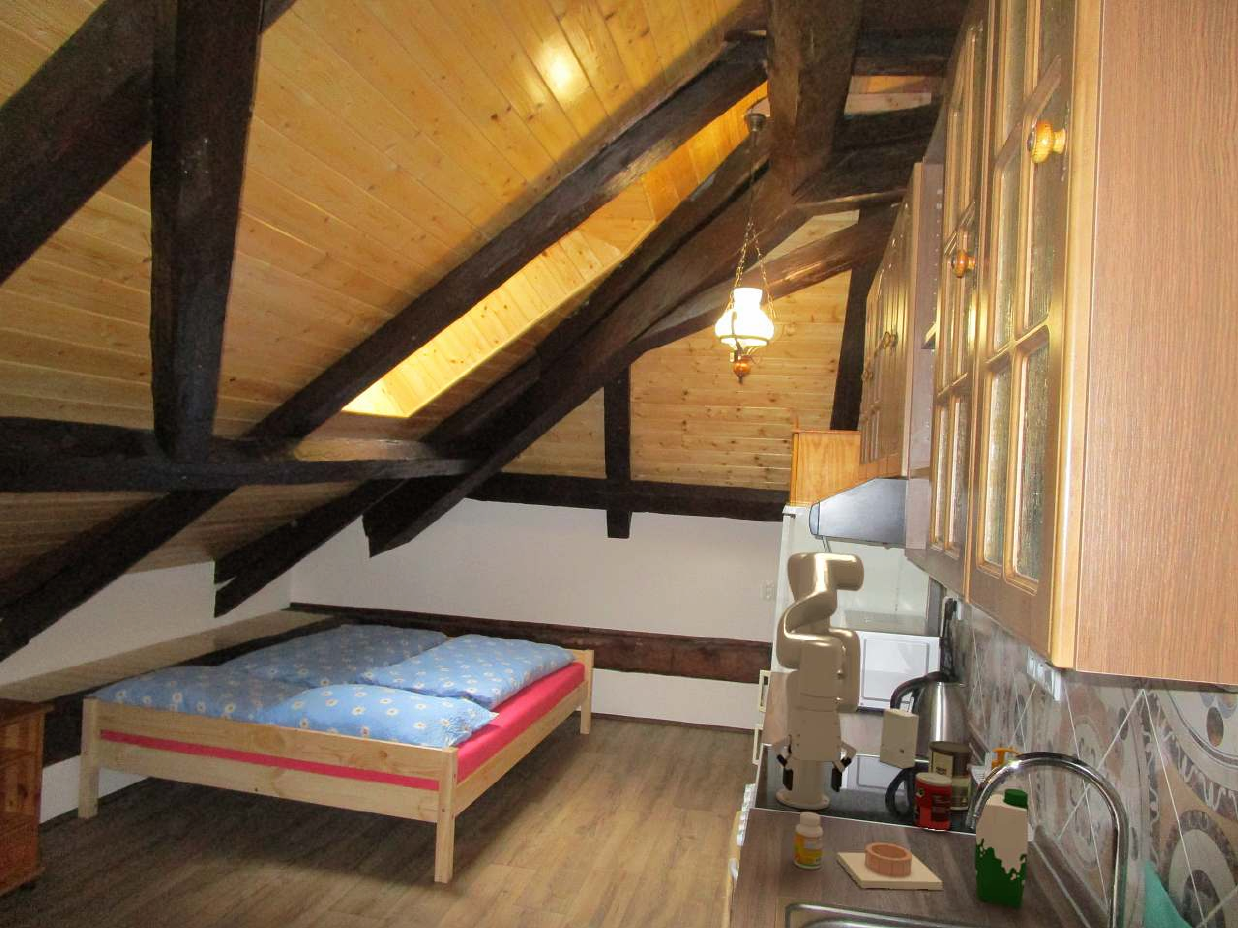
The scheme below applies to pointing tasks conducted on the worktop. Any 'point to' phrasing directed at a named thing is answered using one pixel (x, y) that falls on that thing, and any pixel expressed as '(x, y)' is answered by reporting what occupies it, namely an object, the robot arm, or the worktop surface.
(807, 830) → the supplement bottle
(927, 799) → the canned food
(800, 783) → the robot arm
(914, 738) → the skincare box
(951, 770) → the coffee can
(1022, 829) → the milk carton
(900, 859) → the bottle collar
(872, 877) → the coaster board
